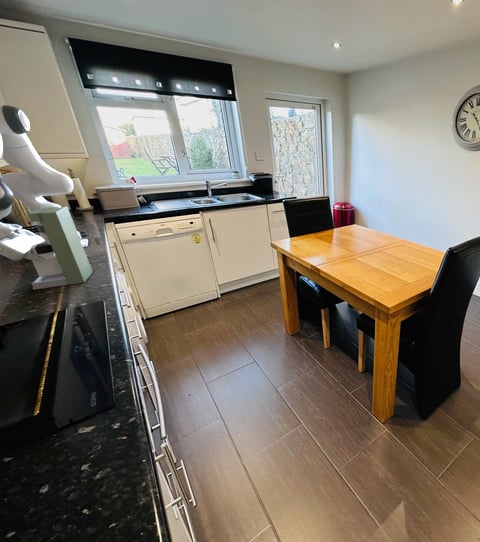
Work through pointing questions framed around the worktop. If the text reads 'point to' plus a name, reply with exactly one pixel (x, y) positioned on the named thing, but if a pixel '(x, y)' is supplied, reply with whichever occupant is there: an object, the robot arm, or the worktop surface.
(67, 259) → the sage green upright pillar
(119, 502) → the worktop surface
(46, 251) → the medicine bottle
